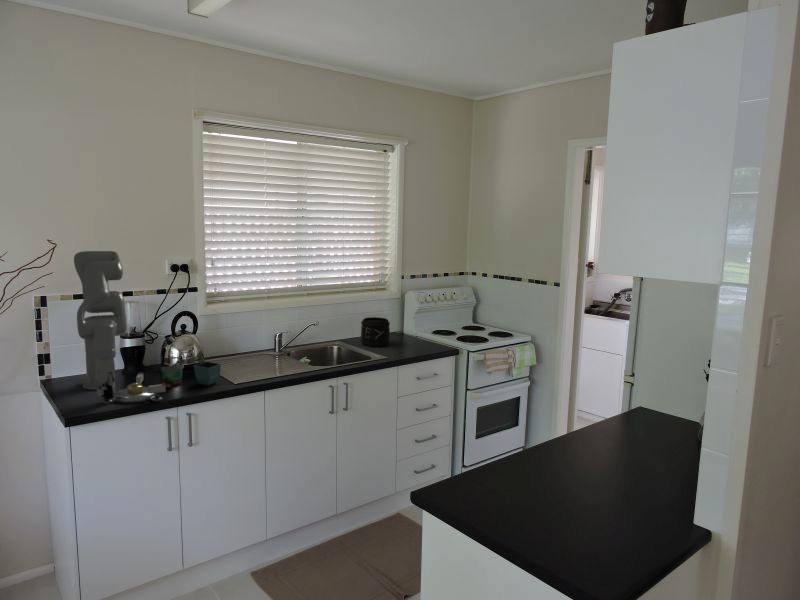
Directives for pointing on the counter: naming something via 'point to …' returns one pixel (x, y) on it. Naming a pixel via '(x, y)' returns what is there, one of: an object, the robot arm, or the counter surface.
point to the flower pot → (207, 372)
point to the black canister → (375, 332)
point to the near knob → (101, 390)
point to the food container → (172, 374)
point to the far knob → (157, 389)
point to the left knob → (139, 378)
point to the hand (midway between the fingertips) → (107, 397)
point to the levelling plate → (132, 395)
